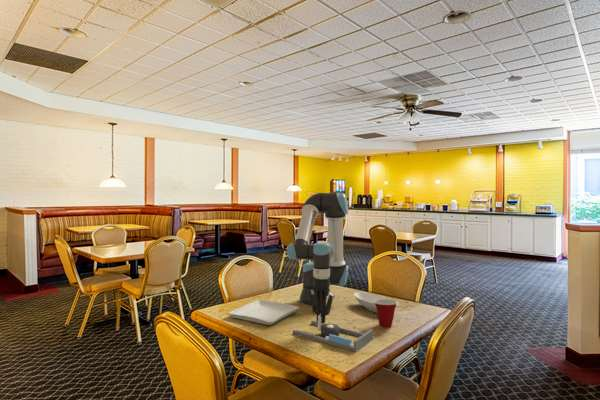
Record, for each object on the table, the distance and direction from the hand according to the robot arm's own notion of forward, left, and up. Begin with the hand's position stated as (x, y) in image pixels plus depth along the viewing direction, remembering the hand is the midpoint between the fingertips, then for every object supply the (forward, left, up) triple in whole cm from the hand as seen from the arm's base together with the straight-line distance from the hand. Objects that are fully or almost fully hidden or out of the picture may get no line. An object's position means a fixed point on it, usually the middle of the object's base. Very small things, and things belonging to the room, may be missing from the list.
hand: (320, 329), depth 158 cm
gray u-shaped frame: (+5, 0, -2) cm, 6 cm away
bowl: (+5, +47, -2) cm, 48 cm away
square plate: (-37, +3, -2) cm, 37 cm away
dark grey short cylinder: (+5, 0, -2) cm, 5 cm away
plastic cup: (+19, +27, -2) cm, 34 cm away
